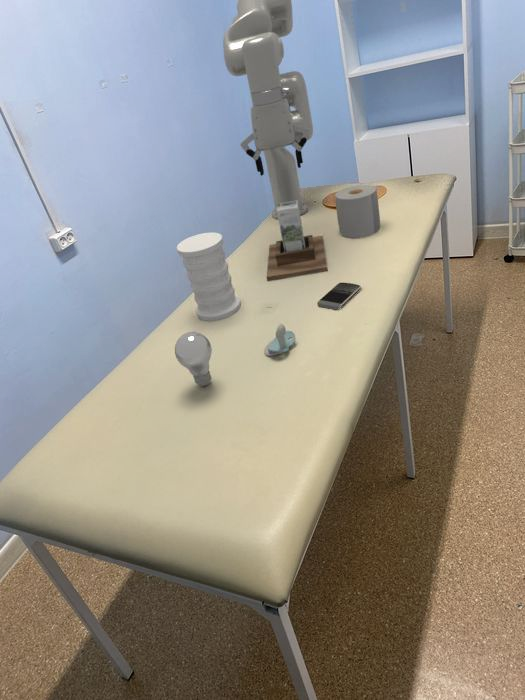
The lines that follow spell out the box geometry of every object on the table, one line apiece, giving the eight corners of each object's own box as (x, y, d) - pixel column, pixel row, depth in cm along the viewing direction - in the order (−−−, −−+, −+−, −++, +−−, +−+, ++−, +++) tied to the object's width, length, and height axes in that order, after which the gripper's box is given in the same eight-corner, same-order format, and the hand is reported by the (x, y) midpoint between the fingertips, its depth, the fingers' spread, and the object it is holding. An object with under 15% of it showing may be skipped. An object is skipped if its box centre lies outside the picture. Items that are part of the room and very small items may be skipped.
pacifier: (259, 358, 103) (284, 360, 100) (252, 332, 100) (277, 335, 97) (275, 338, 108) (299, 340, 105) (268, 314, 105) (293, 315, 102)
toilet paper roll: (386, 222, 148) (383, 183, 142) (371, 239, 141) (367, 199, 134) (349, 222, 155) (344, 185, 148) (332, 238, 147) (327, 199, 141)
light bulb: (208, 399, 95) (190, 347, 88) (181, 392, 99) (162, 342, 92) (228, 377, 99) (213, 326, 93) (201, 371, 103) (185, 322, 97)
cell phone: (363, 289, 118) (362, 284, 118) (339, 313, 112) (338, 307, 111) (340, 286, 122) (340, 281, 121) (316, 308, 116) (315, 303, 115)
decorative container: (229, 292, 131) (211, 228, 121) (249, 307, 122) (231, 239, 112) (189, 309, 128) (168, 244, 118) (207, 326, 118) (185, 257, 109)
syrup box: (306, 249, 141) (297, 198, 133) (306, 257, 136) (297, 206, 129) (286, 252, 142) (277, 202, 134) (286, 260, 137) (276, 210, 129)
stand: (270, 248, 150) (267, 235, 148) (323, 239, 148) (321, 225, 145) (267, 281, 132) (264, 266, 130) (327, 271, 130) (325, 256, 127)
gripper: (303, 87, 120) (313, 159, 129) (233, 103, 122) (248, 172, 132) (303, 91, 113) (314, 167, 123) (230, 108, 116) (246, 181, 126)
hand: (280, 170), depth 127 cm, fingers open, 9 cm apart
